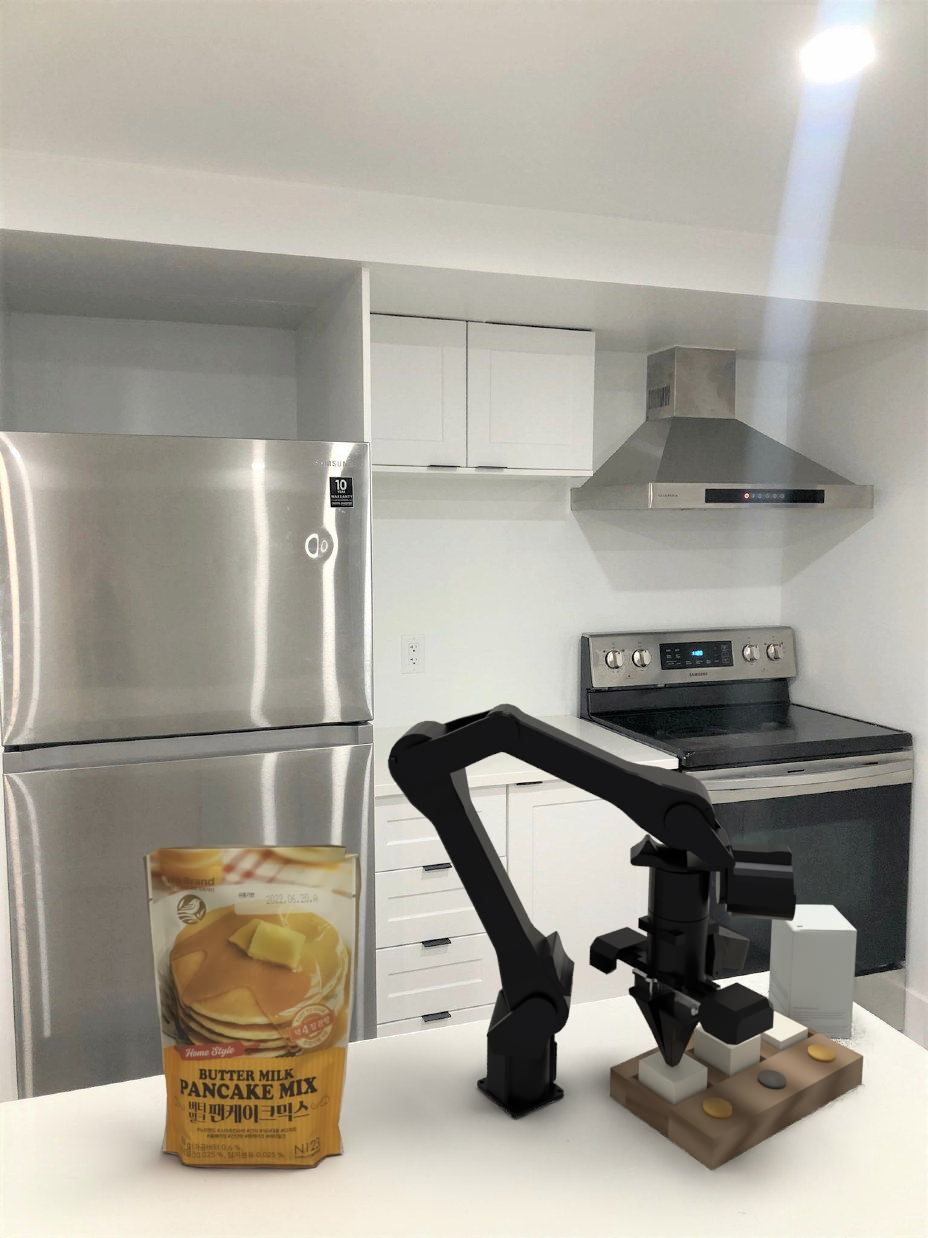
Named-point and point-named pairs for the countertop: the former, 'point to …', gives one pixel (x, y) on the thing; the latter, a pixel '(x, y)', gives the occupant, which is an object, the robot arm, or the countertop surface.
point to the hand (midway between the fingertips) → (672, 1064)
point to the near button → (673, 1077)
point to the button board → (743, 1096)
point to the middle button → (726, 1052)
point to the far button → (784, 1033)
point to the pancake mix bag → (254, 998)
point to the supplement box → (814, 969)
